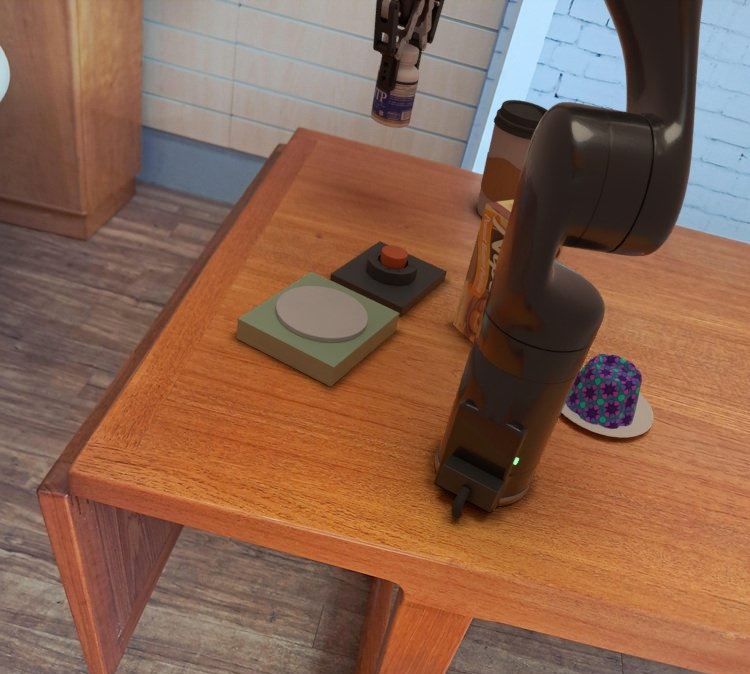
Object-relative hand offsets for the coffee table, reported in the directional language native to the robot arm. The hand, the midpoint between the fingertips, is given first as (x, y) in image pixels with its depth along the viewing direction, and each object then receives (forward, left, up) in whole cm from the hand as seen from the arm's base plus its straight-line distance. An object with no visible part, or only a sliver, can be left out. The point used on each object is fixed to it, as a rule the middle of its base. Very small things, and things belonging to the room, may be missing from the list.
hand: (396, 84), depth 100 cm
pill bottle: (0, 0, -5) cm, 5 cm away
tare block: (-17, -12, -16) cm, 26 cm away
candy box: (-20, -27, -17) cm, 37 cm away
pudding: (-22, -42, -17) cm, 50 cm away
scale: (-33, -12, -16) cm, 39 cm away
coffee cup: (+13, -14, -17) cm, 25 cm away
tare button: (-17, -12, -14) cm, 25 cm away
